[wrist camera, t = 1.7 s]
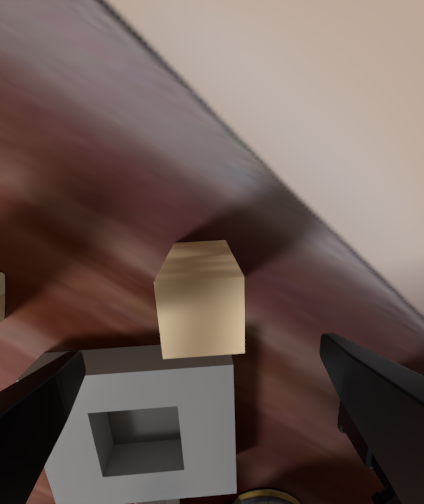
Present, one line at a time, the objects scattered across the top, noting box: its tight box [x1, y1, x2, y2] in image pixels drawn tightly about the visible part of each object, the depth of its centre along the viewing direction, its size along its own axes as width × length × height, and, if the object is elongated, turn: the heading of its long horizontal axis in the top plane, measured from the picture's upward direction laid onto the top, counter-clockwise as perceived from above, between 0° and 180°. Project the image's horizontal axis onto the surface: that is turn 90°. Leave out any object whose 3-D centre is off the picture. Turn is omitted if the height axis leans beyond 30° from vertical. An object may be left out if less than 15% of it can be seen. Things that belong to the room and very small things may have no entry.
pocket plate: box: [16, 345, 237, 504], centre depth 20 cm, size 16×14×3 cm
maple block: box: [154, 240, 245, 359], centre depth 14 cm, size 4×4×8 cm
